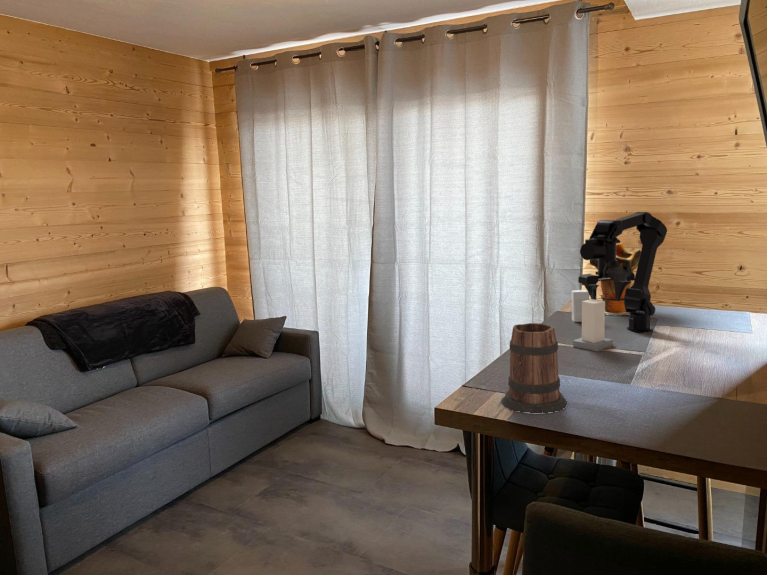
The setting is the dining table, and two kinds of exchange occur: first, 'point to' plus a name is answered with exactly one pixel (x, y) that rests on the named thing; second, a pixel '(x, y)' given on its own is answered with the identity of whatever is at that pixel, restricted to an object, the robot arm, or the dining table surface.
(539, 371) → the tankard
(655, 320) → the dining table surface
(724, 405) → the dining table surface
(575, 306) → the skincare box
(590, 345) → the tower top
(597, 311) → the tall block
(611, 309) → the decorative vase
